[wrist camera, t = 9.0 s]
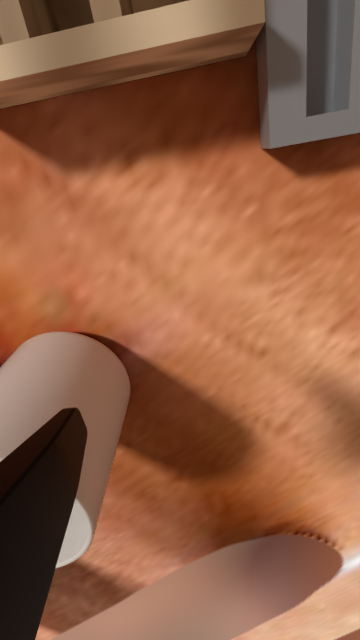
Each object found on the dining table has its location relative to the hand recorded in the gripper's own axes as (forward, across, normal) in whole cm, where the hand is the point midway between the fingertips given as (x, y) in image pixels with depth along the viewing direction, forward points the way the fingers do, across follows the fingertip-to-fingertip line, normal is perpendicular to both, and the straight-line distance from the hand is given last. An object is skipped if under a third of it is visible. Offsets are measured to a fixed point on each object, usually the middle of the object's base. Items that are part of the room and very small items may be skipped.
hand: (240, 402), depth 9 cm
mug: (+13, +13, +7) cm, 20 cm away
